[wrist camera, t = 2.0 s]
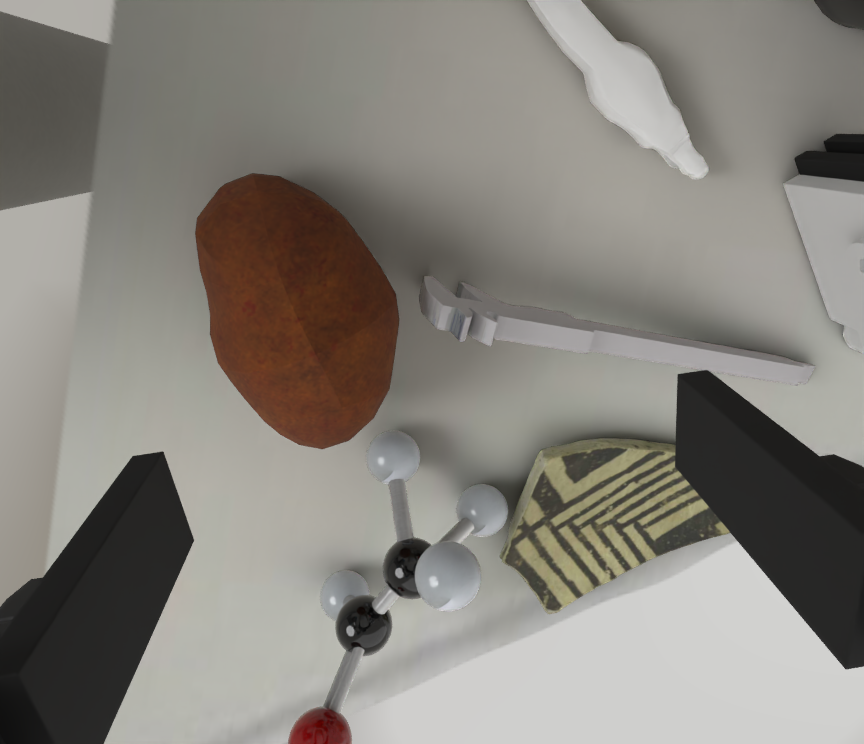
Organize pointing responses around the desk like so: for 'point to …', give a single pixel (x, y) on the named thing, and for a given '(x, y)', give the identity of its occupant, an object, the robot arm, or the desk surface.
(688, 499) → the pottery shard
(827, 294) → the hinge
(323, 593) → the molecular model
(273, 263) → the potato
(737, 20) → the desk surface
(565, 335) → the caliper
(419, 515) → the desk surface
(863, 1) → the mug
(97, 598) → the robot arm
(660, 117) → the white tapered spike
